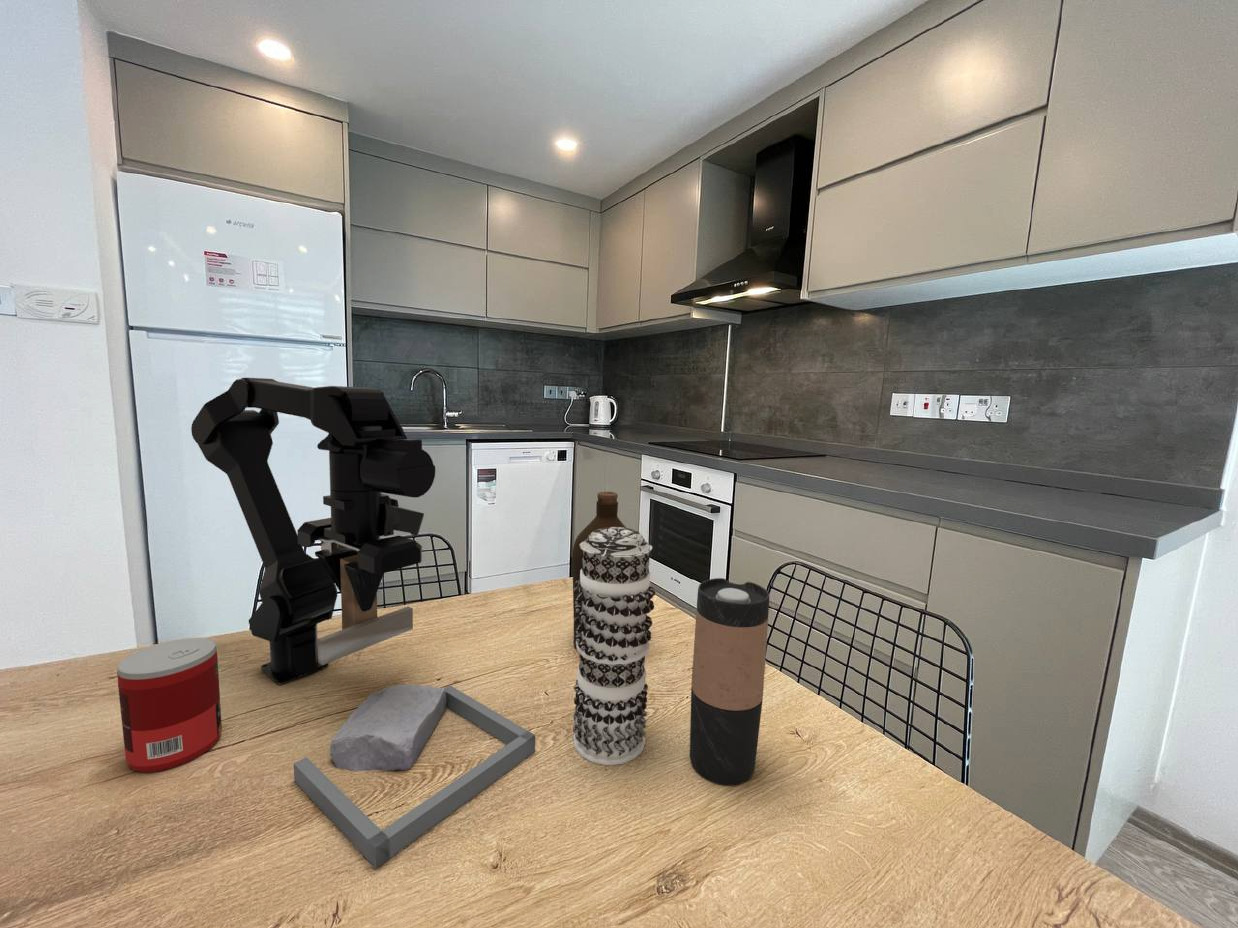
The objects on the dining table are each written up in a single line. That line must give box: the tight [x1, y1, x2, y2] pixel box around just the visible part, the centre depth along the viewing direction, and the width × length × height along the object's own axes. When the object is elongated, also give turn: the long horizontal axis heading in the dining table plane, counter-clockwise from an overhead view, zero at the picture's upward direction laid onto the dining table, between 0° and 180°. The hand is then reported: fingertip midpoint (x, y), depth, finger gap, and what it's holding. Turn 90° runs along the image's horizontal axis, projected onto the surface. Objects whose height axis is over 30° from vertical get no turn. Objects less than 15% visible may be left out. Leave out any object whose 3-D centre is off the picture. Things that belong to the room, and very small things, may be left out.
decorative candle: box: [572, 527, 656, 766], centre depth 58 cm, size 9×9×25 cm
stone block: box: [329, 683, 447, 772], centre depth 59 cm, size 12×5×10 cm
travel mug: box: [689, 577, 770, 786], centre depth 55 cm, size 8×8×20 cm
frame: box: [293, 684, 536, 869], centre depth 54 cm, size 16×18×2 cm
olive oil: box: [571, 491, 627, 650], centre depth 81 cm, size 11×11×25 cm
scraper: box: [317, 555, 414, 665], centre depth 65 cm, size 4×12×11 cm, turn 147°
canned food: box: [117, 637, 223, 773], centre depth 55 cm, size 8×8×11 cm
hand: (359, 606), depth 66 cm, fingers closed on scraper, 3 cm apart
